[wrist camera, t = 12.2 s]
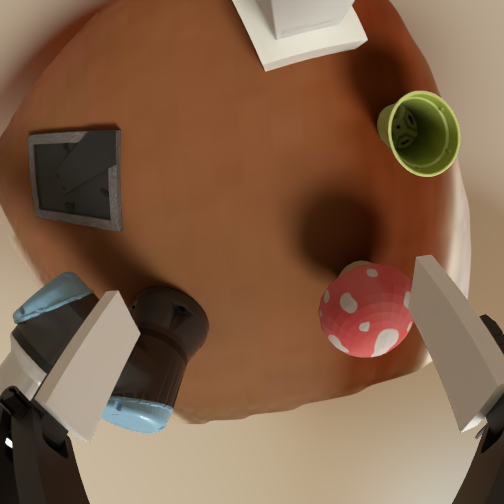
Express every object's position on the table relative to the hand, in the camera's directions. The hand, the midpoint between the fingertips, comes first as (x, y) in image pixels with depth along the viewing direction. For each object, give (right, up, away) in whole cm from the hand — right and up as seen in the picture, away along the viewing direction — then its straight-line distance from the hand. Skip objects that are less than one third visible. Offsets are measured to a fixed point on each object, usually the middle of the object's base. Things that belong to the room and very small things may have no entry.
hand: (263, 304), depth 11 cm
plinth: (+5, +31, +14) cm, 34 cm away
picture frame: (-31, +15, +27) cm, 44 cm away
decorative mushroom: (+16, -1, +30) cm, 34 cm away
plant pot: (+19, +19, +19) cm, 32 cm away
